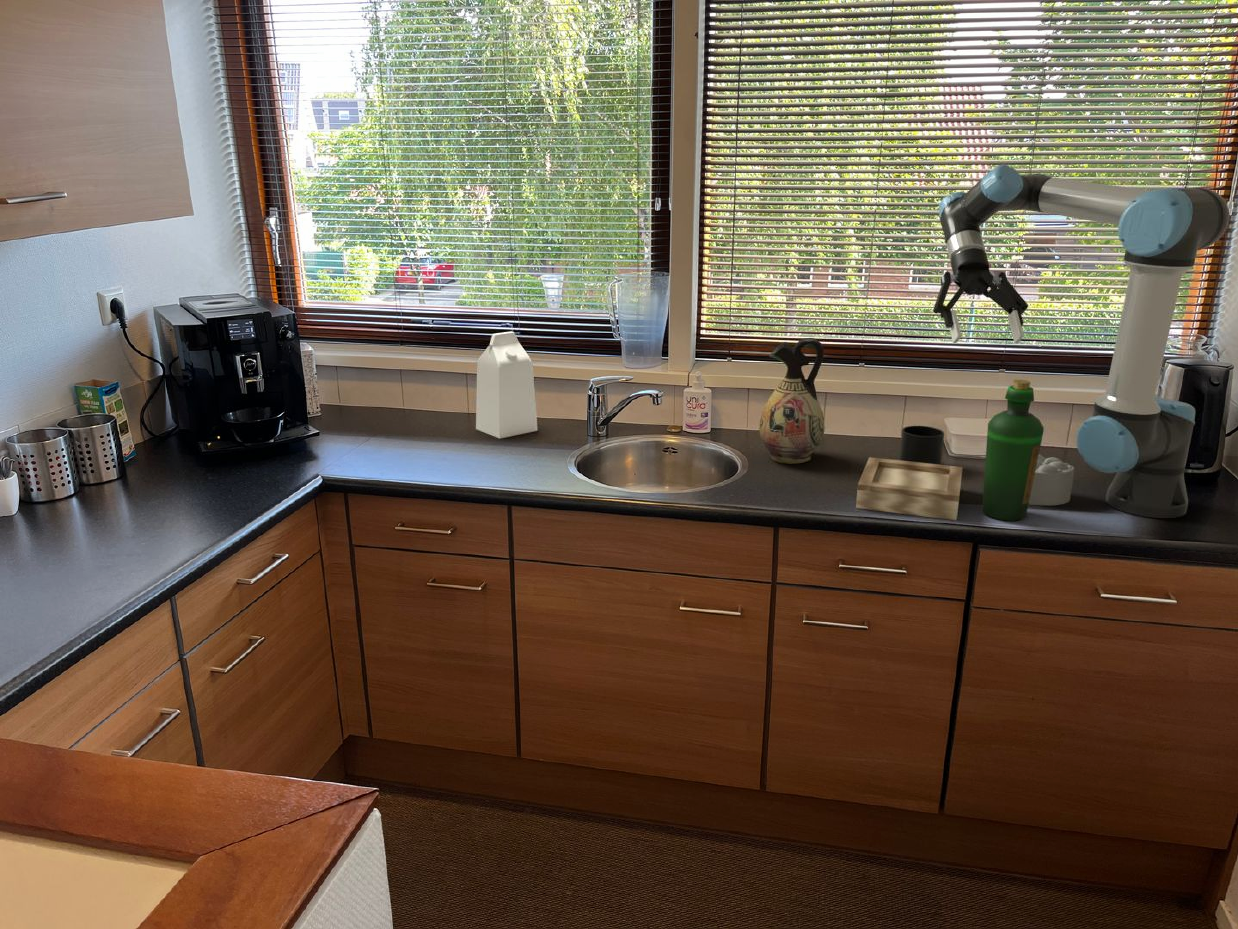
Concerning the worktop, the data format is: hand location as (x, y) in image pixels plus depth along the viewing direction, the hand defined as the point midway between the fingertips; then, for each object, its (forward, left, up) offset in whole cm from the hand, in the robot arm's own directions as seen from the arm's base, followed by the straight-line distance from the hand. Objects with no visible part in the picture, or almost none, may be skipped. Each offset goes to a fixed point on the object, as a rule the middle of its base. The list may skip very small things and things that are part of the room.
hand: (988, 339), depth 202 cm
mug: (+12, -13, -34) cm, 38 cm away
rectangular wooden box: (+12, +11, -33) cm, 37 cm away
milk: (+117, -6, -34) cm, 122 cm away
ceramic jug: (+41, -8, -34) cm, 53 cm away
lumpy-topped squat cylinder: (-14, 0, -34) cm, 36 cm away
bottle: (-7, +14, -34) cm, 37 cm away
